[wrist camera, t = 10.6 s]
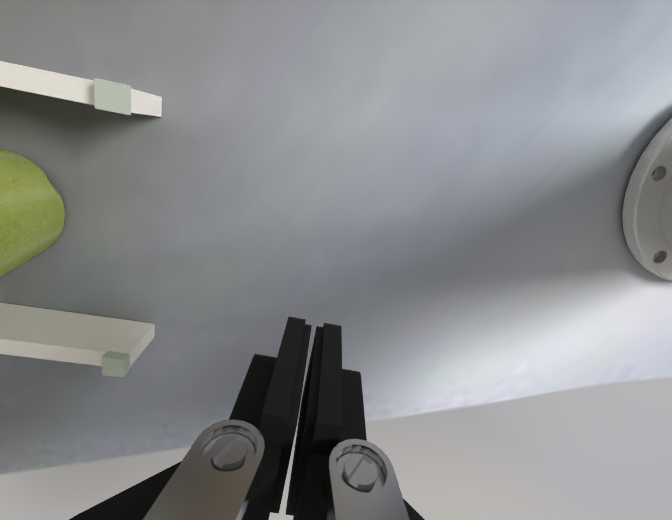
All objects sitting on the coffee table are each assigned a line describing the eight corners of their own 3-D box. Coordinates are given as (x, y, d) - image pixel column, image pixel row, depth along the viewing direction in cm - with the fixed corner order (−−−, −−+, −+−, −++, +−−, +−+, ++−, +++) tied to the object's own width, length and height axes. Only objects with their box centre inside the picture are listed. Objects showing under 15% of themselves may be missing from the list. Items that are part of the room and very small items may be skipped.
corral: (164, 95, 18) (124, 84, 15) (156, 338, 23) (124, 377, 19) (-112, 37, 17) (-238, 7, 13) (-60, 309, 22) (-140, 346, 18)
